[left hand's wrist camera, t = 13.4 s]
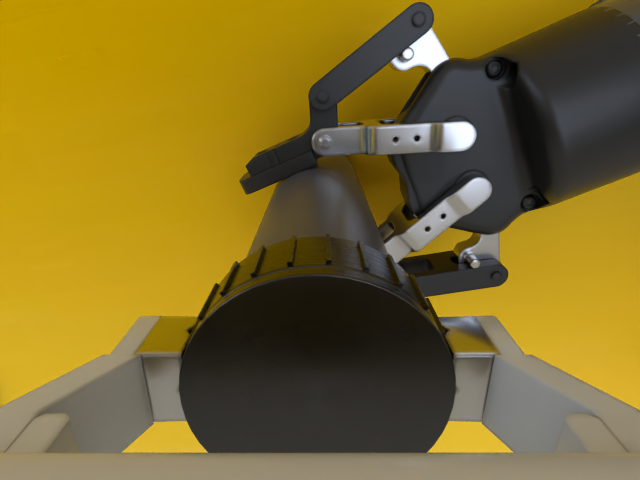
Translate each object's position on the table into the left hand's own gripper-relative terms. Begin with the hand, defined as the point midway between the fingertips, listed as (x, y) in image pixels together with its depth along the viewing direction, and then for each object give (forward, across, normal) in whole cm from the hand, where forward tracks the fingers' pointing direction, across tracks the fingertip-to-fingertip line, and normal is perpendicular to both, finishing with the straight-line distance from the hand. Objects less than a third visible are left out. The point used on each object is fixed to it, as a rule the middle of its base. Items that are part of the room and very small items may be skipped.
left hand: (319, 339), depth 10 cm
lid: (-2, 0, 0) cm, 2 cm away
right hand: (+11, -2, -1) cm, 11 cm away
